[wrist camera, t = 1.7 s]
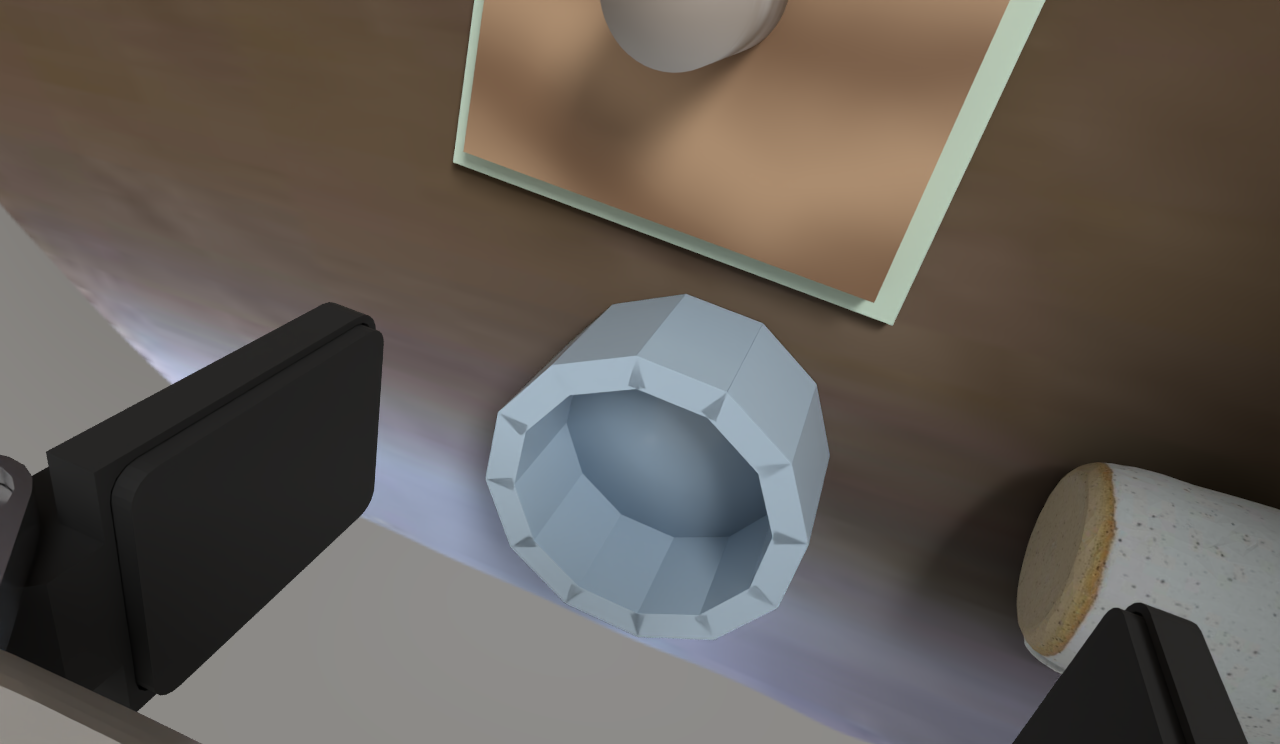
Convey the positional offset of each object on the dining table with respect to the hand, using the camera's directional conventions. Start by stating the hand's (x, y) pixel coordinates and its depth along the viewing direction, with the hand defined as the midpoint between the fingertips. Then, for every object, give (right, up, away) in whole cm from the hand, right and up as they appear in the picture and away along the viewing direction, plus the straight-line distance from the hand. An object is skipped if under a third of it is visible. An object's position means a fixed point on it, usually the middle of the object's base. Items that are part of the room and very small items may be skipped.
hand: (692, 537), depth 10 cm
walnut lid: (+2, +14, +16) cm, 22 cm away
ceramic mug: (+18, -5, +20) cm, 28 cm away
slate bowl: (+1, 0, +24) cm, 24 cm away
